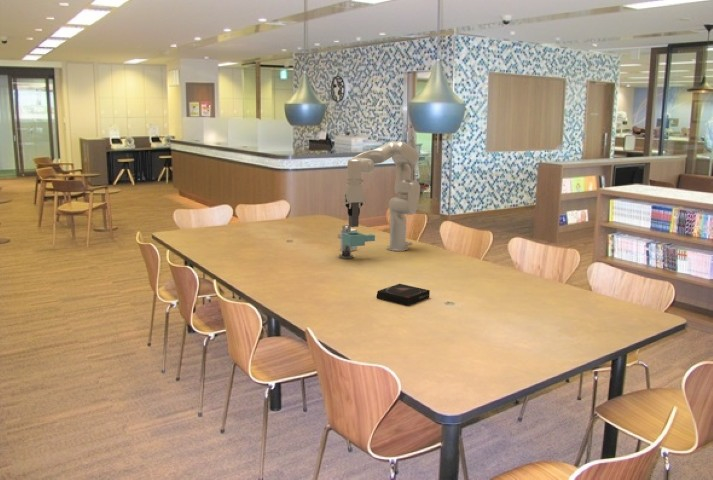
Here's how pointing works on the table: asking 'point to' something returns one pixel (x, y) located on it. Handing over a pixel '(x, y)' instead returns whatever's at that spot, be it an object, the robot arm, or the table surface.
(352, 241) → the teal square frame handle
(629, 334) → the table surface
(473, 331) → the table surface
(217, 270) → the table surface
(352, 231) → the supplement box
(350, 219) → the steel wedge pin
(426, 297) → the portable cd player
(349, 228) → the grey tall round-topped piece
